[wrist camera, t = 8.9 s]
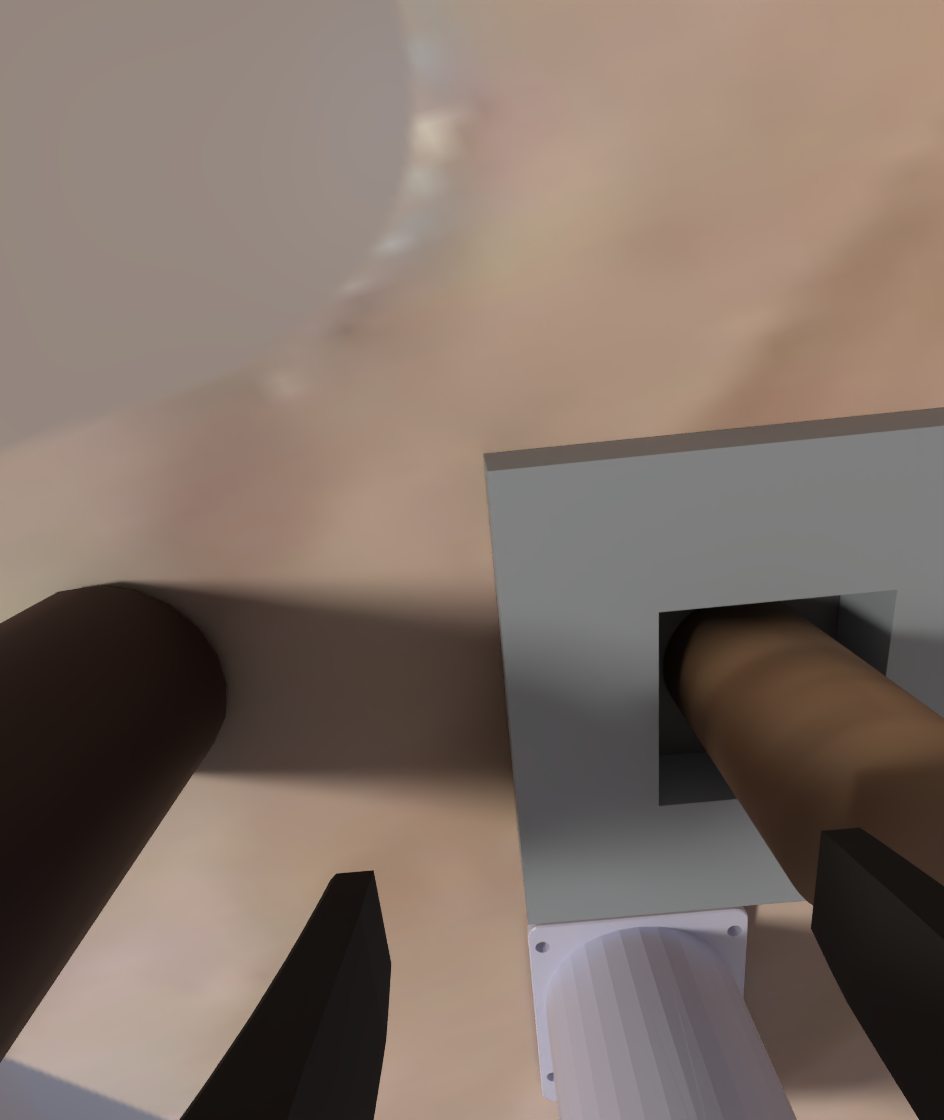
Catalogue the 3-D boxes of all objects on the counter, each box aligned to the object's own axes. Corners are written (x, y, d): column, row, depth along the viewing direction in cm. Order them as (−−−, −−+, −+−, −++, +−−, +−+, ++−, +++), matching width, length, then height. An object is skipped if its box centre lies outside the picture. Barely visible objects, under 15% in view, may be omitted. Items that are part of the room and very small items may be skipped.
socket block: (917, 813, 21) (989, 884, 18) (519, 849, 21) (528, 924, 18) (984, 403, 16) (1094, 410, 14) (483, 454, 17) (487, 471, 14)
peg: (799, 719, 19) (989, 915, 12) (659, 727, 19) (771, 927, 12) (817, 588, 17) (1043, 727, 11) (666, 596, 17) (797, 740, 11)
